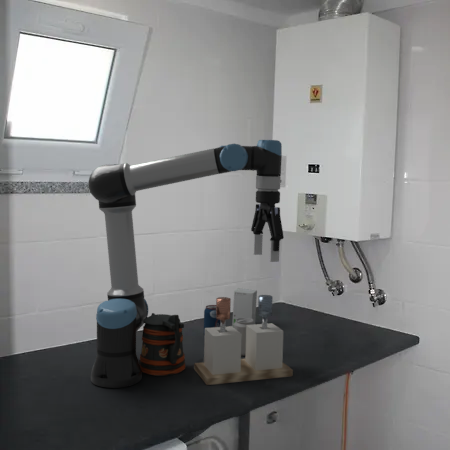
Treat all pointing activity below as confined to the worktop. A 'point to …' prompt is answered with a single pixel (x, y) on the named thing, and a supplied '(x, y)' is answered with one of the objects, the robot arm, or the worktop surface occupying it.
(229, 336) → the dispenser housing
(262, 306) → the plunger
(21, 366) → the worktop surface
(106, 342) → the robot arm
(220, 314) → the plunger
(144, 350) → the beer stein
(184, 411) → the worktop surface
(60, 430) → the worktop surface
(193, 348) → the worktop surface
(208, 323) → the soda can
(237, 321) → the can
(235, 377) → the base board
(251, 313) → the skincare box
